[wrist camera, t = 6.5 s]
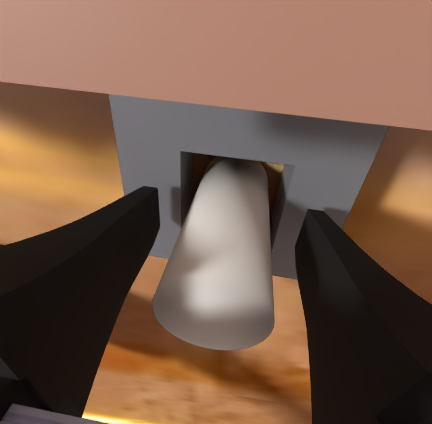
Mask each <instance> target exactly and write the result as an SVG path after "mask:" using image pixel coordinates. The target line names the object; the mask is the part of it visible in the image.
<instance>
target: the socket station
mask: <svg viewBox="0 0 432 424" xmlns="http://www.w3.org/2000/svg"><path fill="white" fill-rule="evenodd" d="M0 82H8V83H16V84H25V85H34V86H43V87H52V88H60V89H69V90H78V91H87V92H96V93H105V94H109V101H110V107H111V113H112V120H113V126H114V132H115V139H116V145H117V152H118V158H119V164H120V171H121V177H122V184H123V190H124V196H125V195H127V194H129V193H131V192H133V191H134V190H136V189H138V188H140V187H142V186H149V187H156V188H158V197H159V212H160V229H159V232H158V235H157V237H156V240H155V242H154V245H153V247H152V249H151V251H150V253H149V256H155V257H161V258H167V259H169V258H170V256H171V253H172V251H173V248H174V246H175V243H176V241H177V238H178V236H179V234H180V231H181V229H182V226H183V224H184V221H185V219H186V216H187V214H188V211H189V209H190V207H191V204H192V176H193V153H200V154H208V155H216V156H224V157H231V158H239V159H247V160H255V161H263V162H270V163H278V164H284V168H283V172H282V176H281V180H280V184H279V188H278V192H277V196H276V200H275V204H274V208H273V212H272V216H271V220H270V240H271V260H272V275H274V276H280V277H286V278H292V279H298V278H297V273H296V265H295V244H296V241H297V238H298V236H299V233H300V230H301V227H302V224H303V221H304V218H305V215H306V212H307V209H313V210H321V211H324V212H325V213H326V214H327V215H328V216H329V217H330V218H331V219H332V220H333V221H334V222H335V223H336V224H337V225H338V226H339V227H340V228H341V229H342V227H343V225H344V223H345V221H346V219H347V217H348V214H349V212H350V210H351V208H352V206H353V204H354V201H355V199H356V197H357V195H358V193H359V191H360V188H361V186H362V184H363V182H364V180H365V178H366V176H367V173H368V171H369V169H370V167H371V165H372V163H373V160H374V158H375V156H376V154H377V152H378V150H379V147H380V145H381V143H382V141H383V139H384V137H385V135H386V132H387V130H388V128H389V126H396V127H405V128H413V129H422V130H431V131H432V0H0Z"/></svg>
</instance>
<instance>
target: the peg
mask: <svg viewBox="0 0 432 424" xmlns="http://www.w3.org/2000/svg"><path fill="white" fill-rule="evenodd" d="M152 309H153V313H154V315H155V317H156V319H157V320H158V322H159V323H160V324H161V325H162V326H163V327H164V328H165V329H166V330H167V331H168V332H170V333H171V334H172V335H174V336H175V337H177V338H179V339H181V340H183V341H185V342H187V343H190V344H193V345H196V346H199V347H203V348H208V349H214V350H239V349H244V348H248V347H251V346H254V345H257V344H259V343H260V342H262V341H263V340H265V339H266V338H267V337H268V336H269V335H270V333H271V332H272V330H273V328H274V301H273V281H272V260H271V240H270V219H269V198H268V178H267V174H266V171H265V169H264V167H263V165H262V164H261V163H260V162H259V161H255V160H247V159H239V158H231V157H224V156H217V157H215V158H214V159H213V160H212V161H211V162H210V163H209V164H208V166H207V167H206V170H205V172H204V175H203V177H202V180H201V182H200V184H199V187H198V189H197V192H196V194H195V197H194V199H193V202H192V204H191V207H190V209H189V211H188V214H187V216H186V219H185V221H184V224H183V226H182V229H181V231H180V234H179V236H178V238H177V241H176V243H175V246H174V248H173V251H172V253H171V256H170V258H169V261H168V263H167V265H166V268H165V270H164V273H163V275H162V278H161V280H160V283H159V285H158V288H157V290H156V292H155V295H154V297H153V301H152Z"/></svg>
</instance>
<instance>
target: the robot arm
mask: <svg viewBox="0 0 432 424" xmlns="http://www.w3.org/2000/svg"><path fill="white" fill-rule="evenodd" d="M159 229H160V212H159V197H158V188H156V187H149V186H142V187H140V188H138V189H136V190H134V191H133V192H131V193H129V194H127V195H125V196H124V197H122V198H120V199H118V200H116V201H114V202H113V203H111V204H109V205H107V206H105V207H103V208H101V209H99V210H97V211H95V212H93V213H91V214H89V215H87V216H85V217H83V218H81V219H79V220H76V221H74V222H72V223H69V224H67V225H64V226H62V227H59V228H57V229H54V230H51V231H49V232H46V233H43V234H40V235H37V236H33V237H30V238H27V239H24V240H21V241H18V242H15V243H11V244H8V245H4V246H0V424H107V423H102V422H98V421H93V420H88V419H84V418H82V415H83V412H84V409H85V406H86V403H87V400H88V397H89V394H90V391H91V388H92V385H93V382H94V379H95V376H96V373H97V370H98V367H99V365H100V362H101V359H102V356H103V354H104V351H105V348H106V345H107V343H108V340H109V337H110V335H111V332H112V330H113V327H114V325H115V322H116V320H117V317H118V315H119V312H120V310H121V308H122V305H123V303H124V300H125V298H126V296H127V294H128V292H129V290H130V288H131V286H132V284H133V282H134V280H135V279H136V277H137V275H138V273H139V271H140V269H141V268H142V266H143V264H144V262H145V260H146V258H147V257H148V255H149V253H150V251H151V249H152V247H153V245H154V242H155V240H156V237H157V235H158V232H159ZM295 265H296V273H297V278H298V284H299V289H300V294H301V299H302V305H303V310H304V315H305V321H306V328H307V338H308V350H309V365H310V380H311V403H312V424H432V304H430V303H429V302H427V301H426V300H424V299H423V298H421V297H420V296H418V295H417V294H416V293H414V292H413V291H411V290H410V289H409V288H407V287H406V286H405V285H403V284H402V283H401V282H400V281H398V280H397V279H396V278H394V277H393V276H392V275H391V274H389V273H388V272H387V271H386V270H384V269H383V268H382V267H381V266H380V265H378V264H377V263H376V262H375V261H374V260H373V259H372V258H371V257H370V256H368V255H367V254H366V253H365V252H364V251H363V250H362V249H361V248H360V247H359V246H358V245H357V244H356V243H355V242H354V241H353V240H352V239H351V238H350V237H349V236H348V235H347V234H346V233H345V232H344V231H343V230H342V229H341V228H340V227H339V226H338V225H337V224H336V223H335V222H334V221H333V220H332V219H331V218H330V217H329V216H328V215H327V214H326V213H325V212H324V211H321V210H313V209H307V212H306V215H305V218H304V221H303V224H302V227H301V230H300V233H299V236H298V238H297V241H296V244H295Z"/></svg>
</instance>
